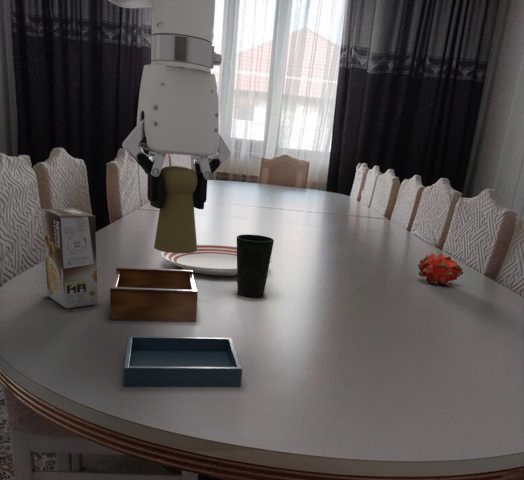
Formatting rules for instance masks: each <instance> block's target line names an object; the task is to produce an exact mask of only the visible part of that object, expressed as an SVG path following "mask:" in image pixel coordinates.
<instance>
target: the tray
mask: <svg viewBox="0 0 524 480" xmlns="http://www.w3.org/2000/svg"><path fill="white" fill-rule="evenodd" d="M242 377H243V367H242V364H241V362H240V358H239V355H238V353H237V350H236V347H235V344H234V341H233V338H232V337H208V336H207V337H202V336H201V337H199V336H198V337H197V336H154V335H153V336H151V335H150V336H149V335H128V336H127V343H126V351H125V358H124V365H123V386H124V387H242Z"/></svg>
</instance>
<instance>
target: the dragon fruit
mask: <svg viewBox="0 0 524 480" xmlns="http://www.w3.org/2000/svg"><path fill="white" fill-rule="evenodd" d="M417 268H418V270H419V271H418V275H419V277H421V278H425V279H426V282H427V283H431V282H432V284H434V285H435V284H443V285H444V286H451V285H453V281H457V280H458V278H459V277H461V276H462V275H463V274H464V271H463V268H462V267H461V266H460V264H458V263H457V261H455V260H452V256H451V255H446V256H444V254H443V253H441V252H438V253H437V254H435V253H432V252H431V253H429V254H428V255H425V257H423V258H422V259H420V260H419V263H418V264H417Z"/></svg>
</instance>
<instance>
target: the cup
mask: <svg viewBox="0 0 524 480" xmlns="http://www.w3.org/2000/svg"><path fill="white" fill-rule="evenodd" d="M274 243H275V240H274V239H273V238H272V237H269V236H267V235H259V234H239V235H237V236H236V247H237V275H236V282H237V283H236V287H237V288H236V289H237V292H236V293H237V295H238V296H240V297H243V298H247V299H260V298H263V297H264V294H265V289H266V283H267V279H268V273H269V268H270V264H271V263H270V258H271V259H272V252H273V248H274Z"/></svg>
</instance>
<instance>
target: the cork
mask: <svg viewBox="0 0 524 480" xmlns="http://www.w3.org/2000/svg"><path fill="white" fill-rule="evenodd" d="M161 177H163V178H164V206H163V208H162V209H159V212H158V219H157V225H156V232H155V238H154V245H153V248H154V249H155V250H156V251H160V252H169V253H193V252H196V251H197V245H198V240H197V230H196V217H195V207H194V203H193V192H194V191H195V190H196V187H197V181H198V179H197V175H196V173H195V171H194V169H191V168H189V167H187V166H180V165H169V166H164V167H162V169H161Z"/></svg>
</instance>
